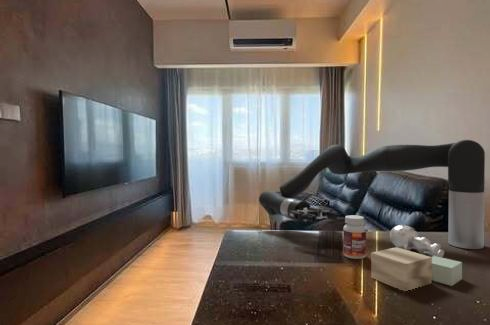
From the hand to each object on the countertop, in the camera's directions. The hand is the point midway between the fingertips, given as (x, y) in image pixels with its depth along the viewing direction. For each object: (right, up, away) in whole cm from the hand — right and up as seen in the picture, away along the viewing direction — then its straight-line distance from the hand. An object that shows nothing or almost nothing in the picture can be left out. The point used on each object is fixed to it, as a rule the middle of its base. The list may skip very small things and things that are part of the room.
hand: (326, 218), depth 102 cm
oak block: (+10, -10, -28) cm, 31 cm away
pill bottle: (+6, -9, -10) cm, 15 cm away
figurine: (+24, -9, -8) cm, 27 cm away
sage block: (+21, -10, -27) cm, 35 cm away
